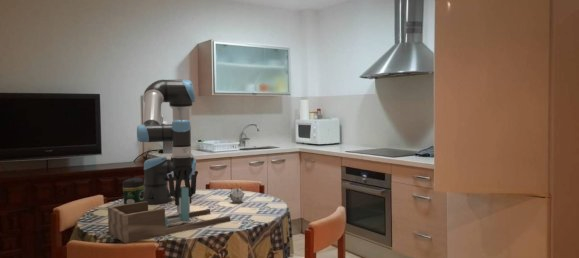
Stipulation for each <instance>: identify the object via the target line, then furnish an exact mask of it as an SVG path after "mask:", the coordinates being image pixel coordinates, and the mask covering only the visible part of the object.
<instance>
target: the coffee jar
mask: <svg viewBox="0 0 579 258" xmlns="http://www.w3.org/2000/svg"><path fill="white" fill-rule="evenodd" d="M144 188H145V185H144V179H143V178H142V177H135V176H133V177H132V178H129V179H125V180H123V181H122V192H123V205H124V204H131V203H138V202H144Z"/></svg>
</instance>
